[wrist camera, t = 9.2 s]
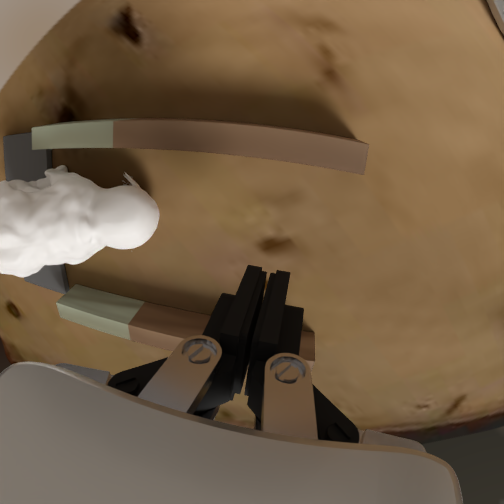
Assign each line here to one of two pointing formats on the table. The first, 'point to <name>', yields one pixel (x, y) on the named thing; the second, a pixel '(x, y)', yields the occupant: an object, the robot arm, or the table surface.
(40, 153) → the mat
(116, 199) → the white figurine
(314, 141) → the parallel bars
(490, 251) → the table surface
